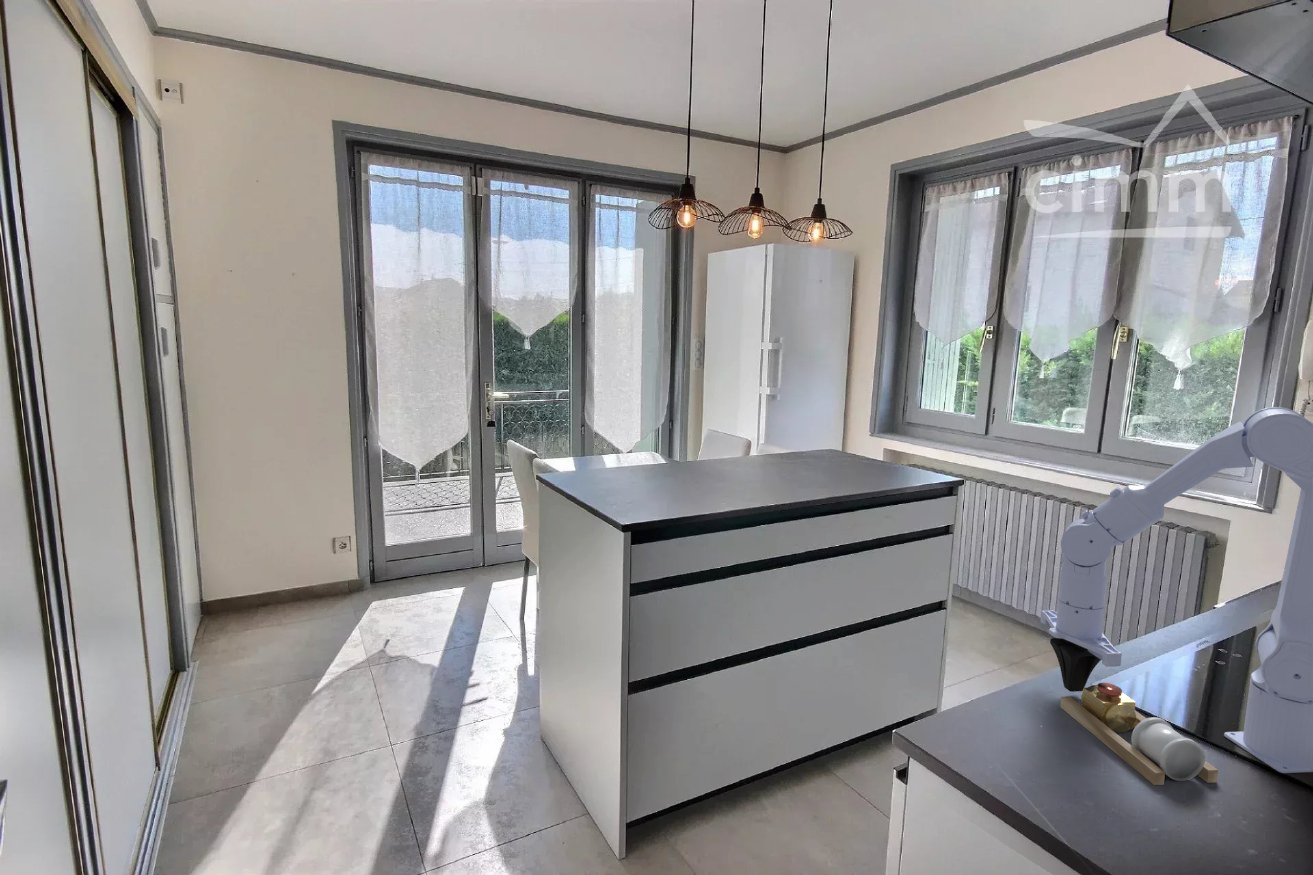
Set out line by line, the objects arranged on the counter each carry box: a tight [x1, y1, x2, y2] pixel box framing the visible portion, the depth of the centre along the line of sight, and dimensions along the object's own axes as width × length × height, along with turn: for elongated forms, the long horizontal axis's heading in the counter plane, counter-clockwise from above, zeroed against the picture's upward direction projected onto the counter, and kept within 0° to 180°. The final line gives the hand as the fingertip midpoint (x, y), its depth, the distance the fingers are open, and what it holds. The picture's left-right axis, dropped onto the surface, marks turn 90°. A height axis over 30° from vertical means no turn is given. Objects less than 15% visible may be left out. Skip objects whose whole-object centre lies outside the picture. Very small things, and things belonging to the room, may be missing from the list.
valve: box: [1080, 682, 1136, 734], centre depth 91 cm, size 5×4×5 cm
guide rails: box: [1059, 695, 1219, 786], centre depth 87 cm, size 8×17×2 cm, turn 3°
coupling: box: [1130, 716, 1206, 782], centre depth 81 cm, size 5×5×5 cm
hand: (1073, 689), depth 98 cm, fingers closed
